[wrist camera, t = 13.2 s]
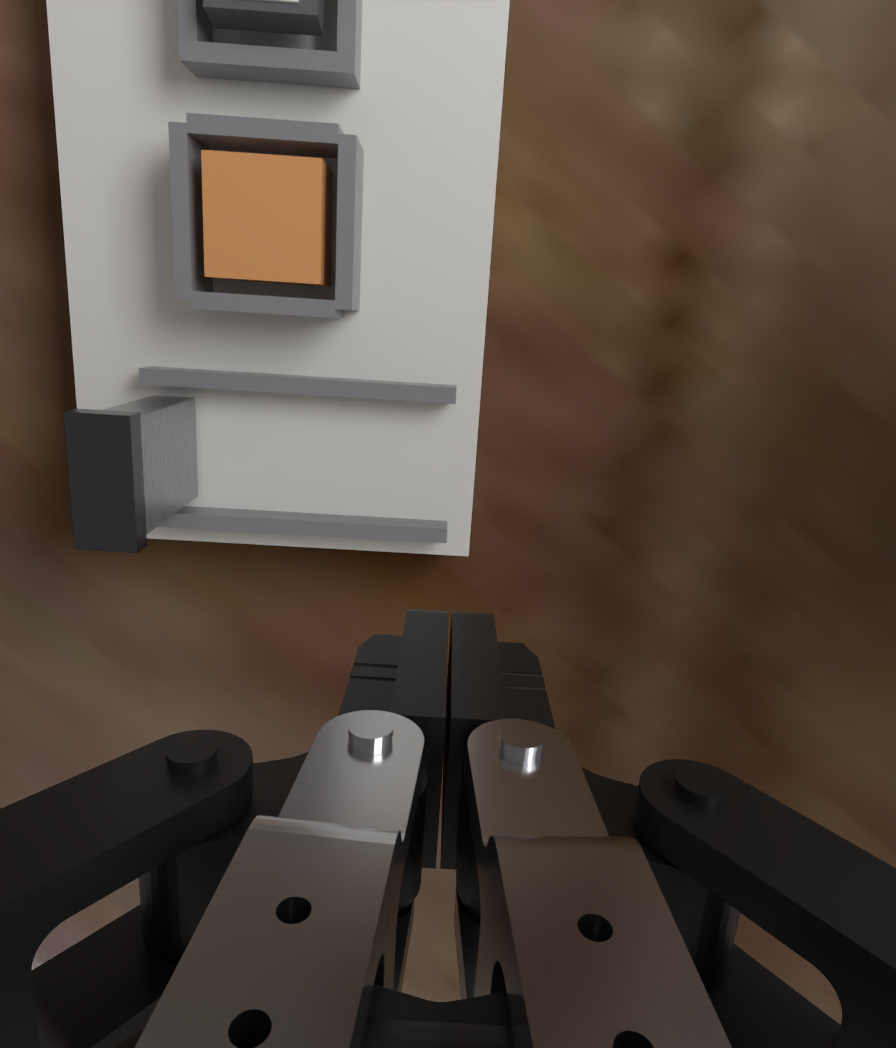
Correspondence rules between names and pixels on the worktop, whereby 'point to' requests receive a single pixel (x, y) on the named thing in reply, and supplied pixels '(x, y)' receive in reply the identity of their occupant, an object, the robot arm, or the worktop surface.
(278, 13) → the rocker switch
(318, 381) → the control panel
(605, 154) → the worktop surface
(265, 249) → the push button
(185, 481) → the slide paddle
